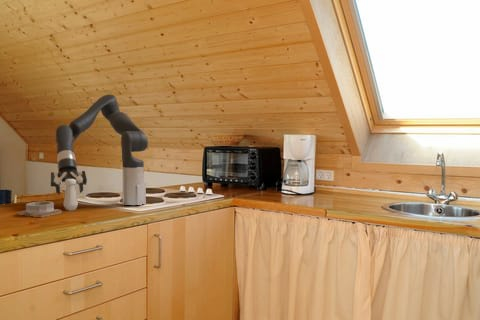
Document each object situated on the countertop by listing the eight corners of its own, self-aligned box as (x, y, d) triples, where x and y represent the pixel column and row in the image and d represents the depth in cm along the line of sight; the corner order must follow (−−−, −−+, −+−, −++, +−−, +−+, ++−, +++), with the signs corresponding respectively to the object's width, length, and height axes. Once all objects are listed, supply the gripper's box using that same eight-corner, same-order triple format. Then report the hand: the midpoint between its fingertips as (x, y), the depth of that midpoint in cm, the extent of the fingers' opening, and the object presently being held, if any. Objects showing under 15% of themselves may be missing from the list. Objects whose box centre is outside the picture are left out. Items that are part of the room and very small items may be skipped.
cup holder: (61, 212, 162) (61, 202, 162) (40, 217, 153) (40, 206, 152) (39, 210, 166) (39, 200, 166) (18, 214, 157) (17, 204, 157)
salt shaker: (60, 210, 167) (59, 179, 167) (70, 207, 173) (70, 177, 172) (71, 211, 165) (70, 180, 164) (81, 208, 171) (80, 178, 170)
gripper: (83, 167, 184) (87, 196, 175) (49, 168, 177) (51, 198, 168) (84, 157, 179) (88, 186, 170) (49, 157, 172) (51, 188, 163)
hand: (70, 192), depth 169 cm, fingers open, 8 cm apart
